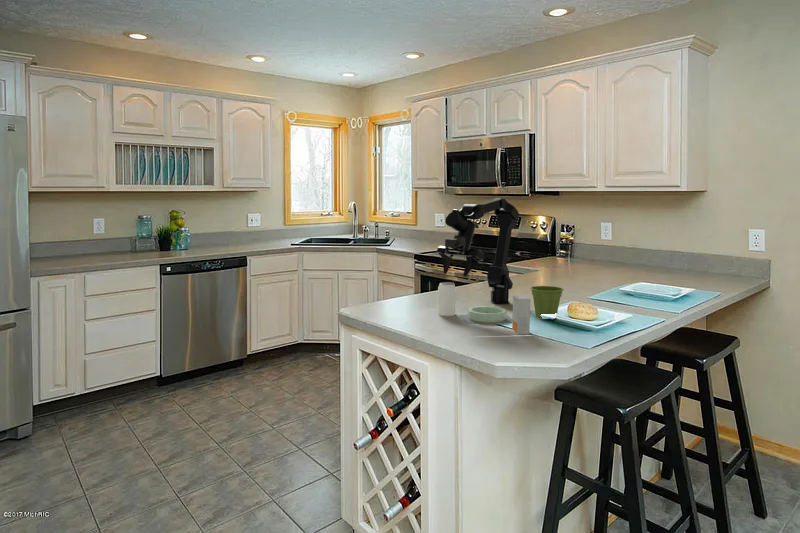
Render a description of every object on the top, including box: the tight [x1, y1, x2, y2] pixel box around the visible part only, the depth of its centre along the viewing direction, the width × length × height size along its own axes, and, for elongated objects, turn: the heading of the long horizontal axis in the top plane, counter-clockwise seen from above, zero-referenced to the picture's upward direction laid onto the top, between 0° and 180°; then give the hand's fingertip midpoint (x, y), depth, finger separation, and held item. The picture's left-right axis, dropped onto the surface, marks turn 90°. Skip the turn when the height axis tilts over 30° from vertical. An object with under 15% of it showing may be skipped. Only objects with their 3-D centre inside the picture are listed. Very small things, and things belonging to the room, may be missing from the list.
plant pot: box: [529, 285, 565, 320], centre depth 201 cm, size 12×12×11 cm
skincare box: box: [511, 294, 532, 336], centre depth 181 cm, size 6×4×12 cm
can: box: [437, 281, 457, 317], centre depth 206 cm, size 6×6×12 cm
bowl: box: [467, 305, 507, 324], centre depth 199 cm, size 13×13×3 cm
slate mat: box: [458, 314, 513, 325], centre depth 199 cm, size 18×14×1 cm
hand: (454, 275), depth 206 cm, fingers open, 9 cm apart
